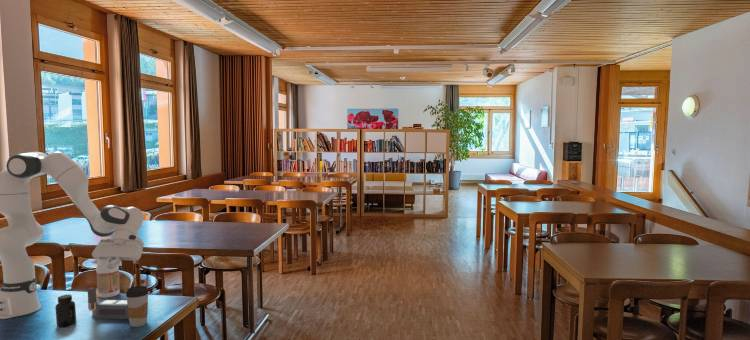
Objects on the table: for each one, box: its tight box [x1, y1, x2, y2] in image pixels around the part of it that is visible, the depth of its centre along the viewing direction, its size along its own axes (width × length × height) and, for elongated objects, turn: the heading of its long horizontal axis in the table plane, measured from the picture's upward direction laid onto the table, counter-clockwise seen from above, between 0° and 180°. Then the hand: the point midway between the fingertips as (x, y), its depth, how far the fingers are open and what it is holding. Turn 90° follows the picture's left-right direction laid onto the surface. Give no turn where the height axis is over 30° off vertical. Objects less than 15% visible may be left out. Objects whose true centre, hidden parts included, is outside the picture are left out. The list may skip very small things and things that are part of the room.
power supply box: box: [91, 299, 129, 320], centre depth 200 cm, size 18×6×8 cm, turn 88°
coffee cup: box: [125, 285, 149, 328], centre depth 191 cm, size 8×8×15 cm
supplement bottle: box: [54, 294, 77, 329], centre depth 191 cm, size 7×7×12 cm
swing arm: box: [87, 286, 100, 312], centre depth 193 cm, size 18×3×8 cm, turn 29°
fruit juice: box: [95, 237, 121, 299], centre depth 226 cm, size 9×9×28 cm
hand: (110, 268), depth 197 cm, fingers closed
